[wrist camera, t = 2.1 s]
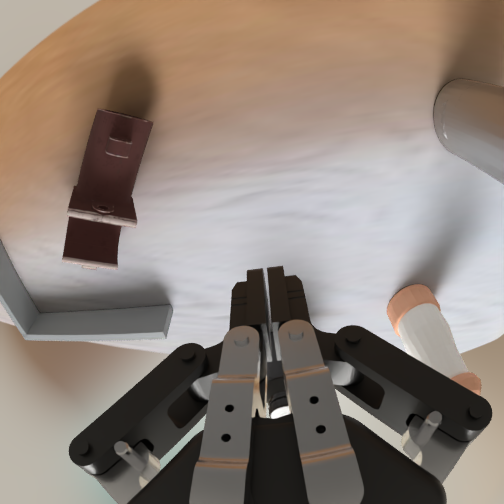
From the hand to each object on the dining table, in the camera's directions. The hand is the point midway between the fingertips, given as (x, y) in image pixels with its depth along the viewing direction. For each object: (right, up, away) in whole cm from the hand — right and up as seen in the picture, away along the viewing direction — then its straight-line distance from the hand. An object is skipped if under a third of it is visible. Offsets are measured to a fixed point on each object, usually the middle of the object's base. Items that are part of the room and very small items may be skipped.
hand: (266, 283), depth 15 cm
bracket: (-15, +9, +17) cm, 24 cm away
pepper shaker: (+22, -6, +27) cm, 35 cm away
